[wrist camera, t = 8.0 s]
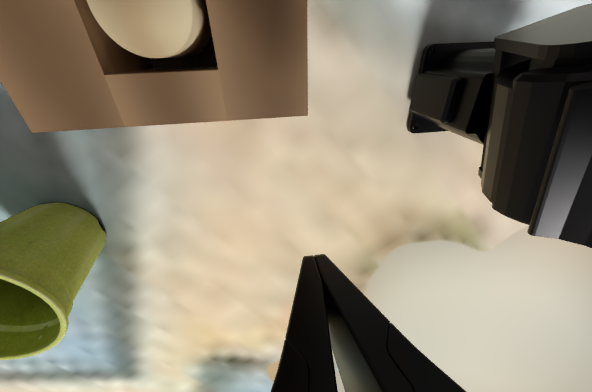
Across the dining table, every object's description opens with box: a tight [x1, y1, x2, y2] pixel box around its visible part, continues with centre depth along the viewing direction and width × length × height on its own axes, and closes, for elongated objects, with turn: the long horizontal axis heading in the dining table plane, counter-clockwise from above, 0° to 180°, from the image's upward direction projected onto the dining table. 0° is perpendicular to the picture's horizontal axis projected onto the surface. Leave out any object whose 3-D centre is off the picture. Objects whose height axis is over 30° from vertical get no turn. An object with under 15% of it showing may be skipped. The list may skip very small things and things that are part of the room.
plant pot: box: [0, 202, 106, 360], centre depth 18 cm, size 9×9×9 cm
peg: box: [87, 0, 211, 58], centre depth 12 cm, size 4×4×5 cm
